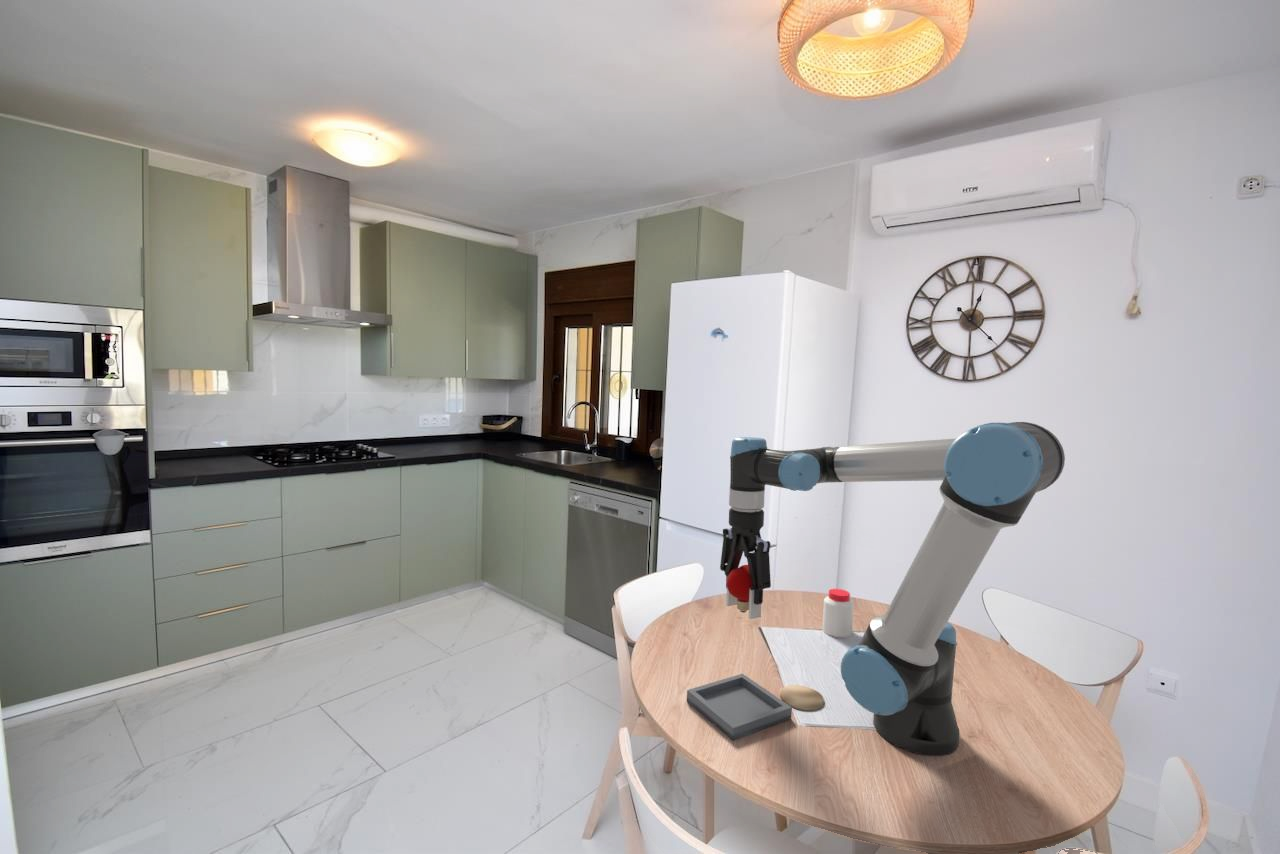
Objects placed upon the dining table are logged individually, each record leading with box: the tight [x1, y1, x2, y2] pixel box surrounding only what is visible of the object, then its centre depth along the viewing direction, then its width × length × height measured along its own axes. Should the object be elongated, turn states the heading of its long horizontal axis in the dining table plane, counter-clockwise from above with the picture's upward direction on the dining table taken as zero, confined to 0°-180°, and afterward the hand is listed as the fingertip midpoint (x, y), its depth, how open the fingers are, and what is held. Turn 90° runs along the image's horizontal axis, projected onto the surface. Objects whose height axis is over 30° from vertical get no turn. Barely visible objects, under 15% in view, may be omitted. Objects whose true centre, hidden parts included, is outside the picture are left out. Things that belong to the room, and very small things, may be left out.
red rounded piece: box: [727, 564, 758, 613], centre depth 128 cm, size 9×7×10 cm
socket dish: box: [686, 673, 793, 741], centre depth 119 cm, size 15×15×2 cm
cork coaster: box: [779, 684, 825, 711], centre depth 124 cm, size 9×9×1 cm
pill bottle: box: [821, 588, 855, 639], centre depth 158 cm, size 8×8×11 cm
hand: (743, 610), depth 128 cm, fingers closed on red rounded piece, 7 cm apart
